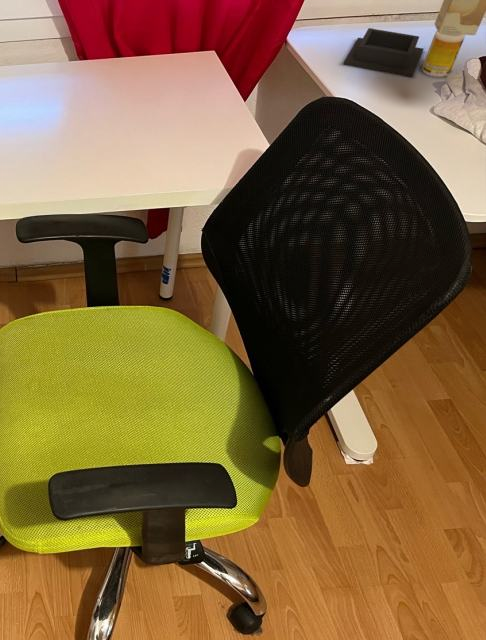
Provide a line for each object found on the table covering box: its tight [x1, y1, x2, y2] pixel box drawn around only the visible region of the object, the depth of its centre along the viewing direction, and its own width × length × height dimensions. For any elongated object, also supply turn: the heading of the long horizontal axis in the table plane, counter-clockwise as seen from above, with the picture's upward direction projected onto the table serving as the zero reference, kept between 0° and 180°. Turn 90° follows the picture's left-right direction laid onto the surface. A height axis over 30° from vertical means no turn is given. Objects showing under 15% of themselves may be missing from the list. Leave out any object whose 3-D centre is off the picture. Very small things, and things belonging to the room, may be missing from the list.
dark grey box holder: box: [343, 27, 425, 78], centre depth 149 cm, size 14×14×4 cm
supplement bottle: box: [421, 30, 466, 78], centre depth 142 cm, size 6×6×10 cm
